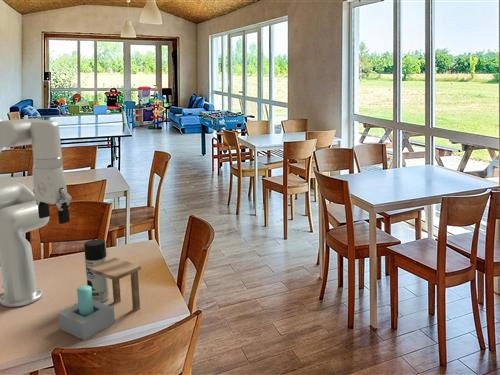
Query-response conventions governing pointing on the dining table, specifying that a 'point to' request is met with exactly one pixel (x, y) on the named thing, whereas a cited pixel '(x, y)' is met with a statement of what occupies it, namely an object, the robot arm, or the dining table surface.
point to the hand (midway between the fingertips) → (54, 220)
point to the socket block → (86, 320)
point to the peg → (85, 300)
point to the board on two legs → (116, 271)
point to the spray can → (94, 256)
